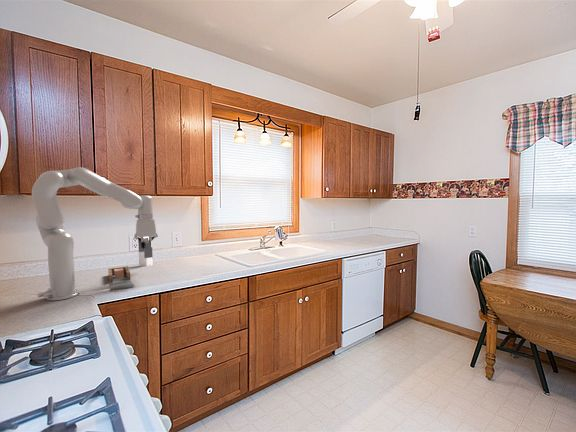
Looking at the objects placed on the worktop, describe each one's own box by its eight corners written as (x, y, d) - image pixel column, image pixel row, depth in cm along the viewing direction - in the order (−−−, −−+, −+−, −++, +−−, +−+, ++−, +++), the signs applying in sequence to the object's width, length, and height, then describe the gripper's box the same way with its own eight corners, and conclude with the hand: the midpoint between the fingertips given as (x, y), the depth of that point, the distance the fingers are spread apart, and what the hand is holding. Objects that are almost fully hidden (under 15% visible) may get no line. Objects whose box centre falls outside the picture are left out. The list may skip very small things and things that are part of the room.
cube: (123, 277, 166) (123, 269, 165) (114, 278, 163) (114, 271, 163) (123, 275, 169) (122, 268, 169) (114, 276, 167) (114, 269, 166)
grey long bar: (153, 257, 162) (153, 242, 161) (143, 258, 159) (142, 243, 158) (148, 250, 180) (147, 237, 179) (138, 251, 177) (138, 238, 176)
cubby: (132, 287, 151) (132, 278, 150) (110, 291, 145) (109, 281, 145) (127, 274, 175) (127, 266, 175) (108, 277, 170) (108, 268, 169)
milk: (152, 265, 198) (151, 233, 196) (146, 267, 192) (145, 235, 190) (145, 264, 199) (144, 233, 197) (139, 267, 193) (137, 234, 191)
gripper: (130, 217, 158) (131, 250, 159) (161, 216, 166) (162, 248, 168) (129, 217, 164) (130, 248, 165) (159, 216, 173) (160, 246, 174)
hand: (146, 248), depth 166 cm, fingers closed on grey long bar
